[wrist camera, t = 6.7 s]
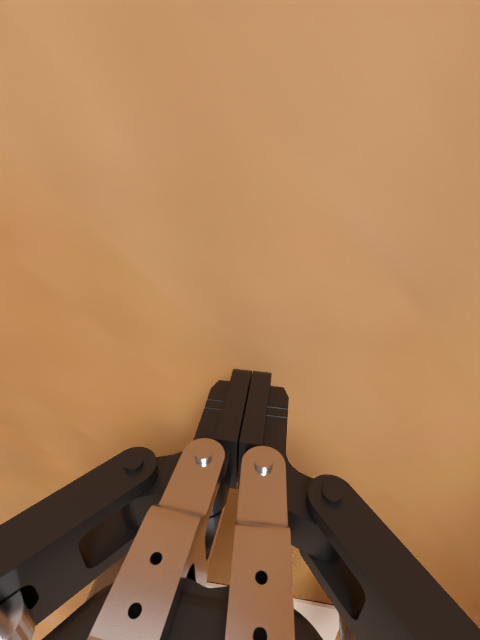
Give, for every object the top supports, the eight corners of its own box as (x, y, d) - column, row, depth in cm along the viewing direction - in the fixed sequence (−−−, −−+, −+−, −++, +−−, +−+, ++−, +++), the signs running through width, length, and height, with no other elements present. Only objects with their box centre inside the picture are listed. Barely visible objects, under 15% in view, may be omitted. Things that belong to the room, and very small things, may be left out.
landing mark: (345, 607, 25) (345, 611, 25) (318, 679, 32) (319, 682, 32) (150, 571, 27) (149, 574, 26) (166, 647, 34) (166, 650, 33)
